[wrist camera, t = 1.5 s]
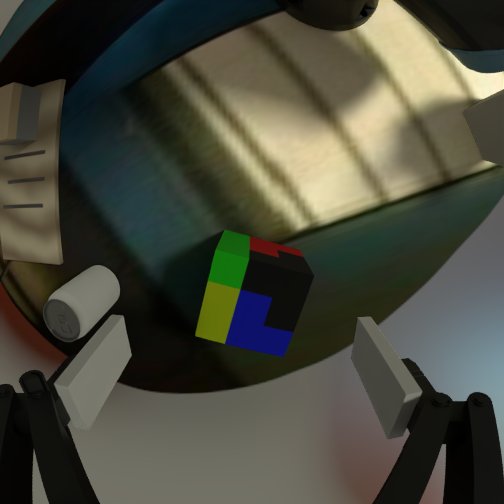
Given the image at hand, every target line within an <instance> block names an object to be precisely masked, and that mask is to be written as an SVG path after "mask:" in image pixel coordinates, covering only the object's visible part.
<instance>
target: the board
mask: <svg viewBox="0 0 504 504" xmlns="http://www.w3.org/2000/svg"><path fill="white" fill-rule="evenodd" d="M65 82H66V80H64V79H60V80H56V81H52V82H49V83H45V84H42V85H38V86H35V87H33V88H37V89H40V90H42V93H41V101H40V109H39V118H38V129H37V140H35V141H30V142H25V143H20V144H15V145H0V235H1V244H2V252H3V259H9V260H18V261H27V262H37V263H47V264H58V265H60V264H62V263H63V257H62V248H61V236H60V223H59V202H58V157H59V137H60V123H61V113H62V104H63V96H64V88H65Z"/></svg>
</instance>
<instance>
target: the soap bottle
mask: <svg viewBox="0 0 504 504" xmlns="http://www.w3.org/2000/svg"><path fill="white" fill-rule="evenodd" d="M463 114H464V116H465V119H466V121H467V123H468V125H469V127H470V129H471V132H472V134H473V136H474V139H475V141H476V143H477V146H478V148H479V151H480V153H481V156H482V159H483V160H485V161H489V162H492V163H495V164H499V165H502V166H504V89H503V90H501V91H499V92H497V93H495V94H493V95H491V96H489V97H487V98H485V99H483V100H481V101H480V102H478V103H476V104H475V105H473V106H471V107H470V108H468V109H466V110H465V111H463Z"/></svg>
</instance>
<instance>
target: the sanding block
mask: <svg viewBox="0 0 504 504" xmlns="http://www.w3.org/2000/svg"><path fill="white" fill-rule="evenodd" d="M41 93H42V90H40V89H37V88H33V87H30V86H26V85H22V84H19V83H15V82H13V83H11V84H8V85H6V86H3V87H1V88H0V145H15V144H20V143H25V142H30V141H35V140H37V129H38V118H39V109H40V101H41Z"/></svg>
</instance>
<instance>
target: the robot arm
mask: <svg viewBox="0 0 504 504" xmlns="http://www.w3.org/2000/svg"><path fill="white" fill-rule="evenodd" d="M276 1H277V3H278V4H279V5H280V6H281V7H282V9H284V10H285V11H286V12H287V13H288V14H290V15H291V16H292V17H294V18H295V19H297V20H299V21H301V22H303V23H305V24H308V25H310V26H313V27H317V28H321V29H326V30H337V31H339V30H349V29H353V28H356V27H359V26H361V25H362V24H364V23H365V22H366V21H367V20H368V19H369V18H370V17H371V16H372V14H373V13H374V12H375V10H376V8H377V5H378V1H379V0H276ZM393 1H395V2H396V3H397V4H398V5H400V6H401V7H402V8H403V9H405V10H406V11H407V12H408V13H409V14H410V15H412V16H413V17H414V18H415V19H416V20H417V21H418V22H420V23H421V24H422V25H423V26H424V27H425V28H426V29H427V30H428V31H429V32H430V33H431V34H432V35H433V36H434V37H436V38H437V39H438V41H439V43H440V44H441V45H442V46H443V47H444V48H445V49H447V50H449V51H450V52H451V53H452V54H453V55H454V56H455V57H456V58H457V59H458V60H459V61H460V62H461V63H462V64H463V65H464V66H466V67H467V68H469V69H471V70H474V71H476V72H480V73H497V72H502V71H504V0H393ZM131 356H132V355H131V350H130V346H129V341H128V337H127V332H126V327H125V322H124V317H123V316H121V315H111V316H110V317H109V318H108V320H107V321H106V322H105V323H104V324H103V325H102V326H101V328H100V329H99V330H98V331H97V332H96V333H95V335H94V336H93V337H92V338H91V339H90V340H89V342H88V343H87V344H86V345H85V346H84V347H83V349H82V350H81V351H80V352H79V353H78V355H74V354H73V355H71V356H70V357H68V358H67V359H65V361H64V362H63V363H62V364H61V366H59V368H58V369H57V371H55V372H54V374H53V375H52V376H51V377H50V378H49V380H48V381H47V382H46V379H45V377H44V375H43V373H42V372H40V371H38V370H32V371H28V372H26V373H24V374H23V375H22V376H21V377H20V379H19V383H20V385H21V387H22V389H23V391H24V393H16V392H15V390H14V388H13V386H11V385H10V384H2V385H0V504H33V503H32V502H33V500H32V471H33V451H34V450H35V454H36V459H37V463H38V467H39V471H40V474H41V479H42V482H43V486H44V489H45V492H46V495H47V499H48V501H49V504H100V503H99V501H98V499H97V497H96V495H95V492H94V490H93V488H92V486H91V484H90V482H89V479H88V477H87V474H86V472H85V470H84V468H83V465H82V462H81V460H80V457H79V455H78V452H77V449H76V447H75V444H74V441H73V438H72V435H71V432H70V429H69V428H68V426H67V424H68V423H69V421H70V420H71V421H72V423H73V425H74V427H75V428H77V429H80V430H84V431H87V432H88V431H89V429H90V427H91V426H92V424H93V422H94V420H95V418H96V417H97V415H98V413H99V411H100V409H101V408H102V406H103V404H104V402H105V400H106V399H107V397H108V395H109V393H110V392H111V390H112V388H113V386H114V385H115V383H116V381H117V380H118V378H119V376H120V374H121V373H122V371H123V369H124V368H125V366H126V364H127V362H128V361H129V359H130V357H131ZM351 359H352V361H353V363H354V366H355V368H356V370H357V372H358V374H359V376H360V378H361V381H362V383H363V385H364V387H365V389H366V392H367V394H368V396H369V398H370V400H371V403H372V405H373V407H374V409H375V412H376V414H377V416H378V418H379V421H380V423H381V425H382V428H383V430H384V432H385V435H386V437H387V439H392V438H396V437H401V436H403V434H404V432H405V430H406V428H408V430H409V432H410V435H409V437H408V439H407V440H406V442H405V444H404V446H403V449H402V451H401V453H400V455H399V457H398V459H397V461H396V463H395V465H394V467H393V469H392V471H391V473H390V474H389V476H388V478H387V480H386V482H385V483H384V485H383V487H382V488H381V490H380V492H379V494H378V495H377V497H376V499H375V500H374V502H373V503H372V504H419V502H420V500H421V498H422V495H423V493H424V491H425V489H426V486H427V484H428V481H429V479H430V476H431V474H432V471H433V469H434V466H435V463H436V460H437V458H438V455H439V452H440V449H441V446H442V444H446V469H445V485H444V496H443V504H504V477H503V476H504V475H503V464H502V456H501V448H500V442H499V436H498V430H497V424H496V419H495V414H494V409H493V404H492V401H491V399H490V398H489V397H488V396H487V395H486V394H483V393H480V392H474V393H472V394H470V395H469V397H468V398H467V401H452V399H451V398H450V397H449V396H448V395H446V394H444V393H439V392H436V391H435V389H434V388H433V387H432V385H431V384H430V382H429V381H428V380H427V378H426V377H425V376H424V374H423V373H422V371H420V368H419V367H418V366H417V365H416V363H415V362H413V361H411V360H410V359H409V358H406V359H400V358H399V356H398V355H397V353H396V352H395V350H394V349H393V348H392V346H391V345H390V343H389V342H388V340H387V339H386V337H385V336H384V335H383V333H382V332H381V331H380V329H379V328H378V326H377V325H376V323H375V322H374V321H373V319H372V318H371V317H358V321H357V327H356V333H355V339H354V344H353V350H352V355H351Z"/></svg>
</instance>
